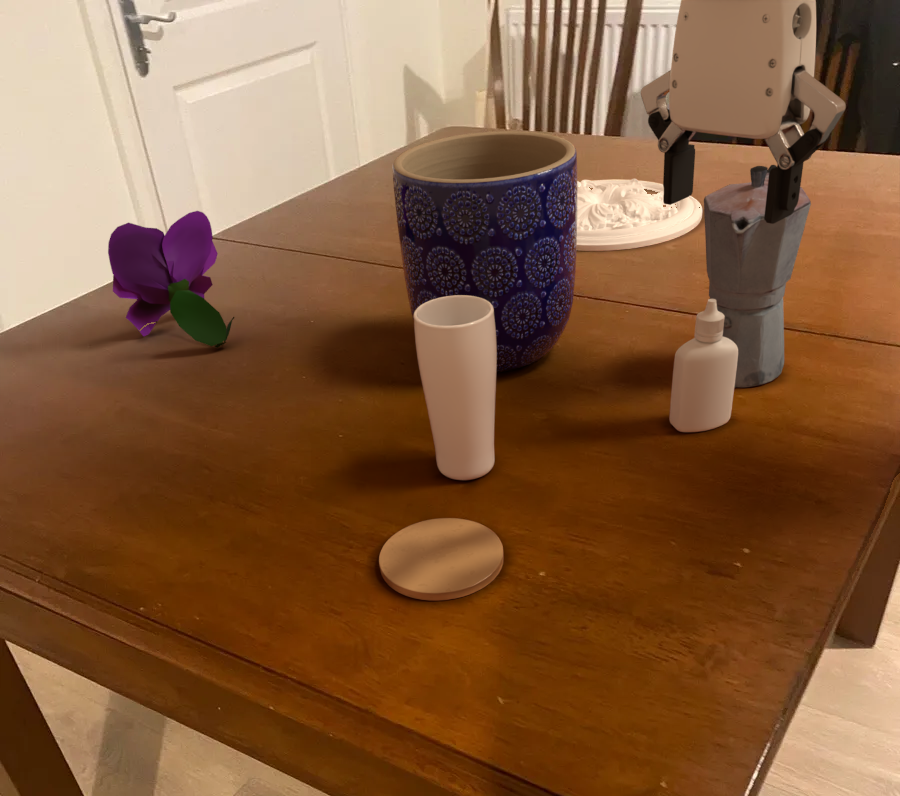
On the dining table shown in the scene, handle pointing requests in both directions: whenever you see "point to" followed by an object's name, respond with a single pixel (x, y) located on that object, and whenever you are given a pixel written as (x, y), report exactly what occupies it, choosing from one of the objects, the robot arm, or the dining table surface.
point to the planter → (493, 231)
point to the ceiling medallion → (629, 215)
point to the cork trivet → (441, 559)
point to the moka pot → (752, 271)
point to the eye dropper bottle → (704, 375)
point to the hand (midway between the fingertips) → (726, 208)
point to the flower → (168, 276)
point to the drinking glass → (459, 381)
